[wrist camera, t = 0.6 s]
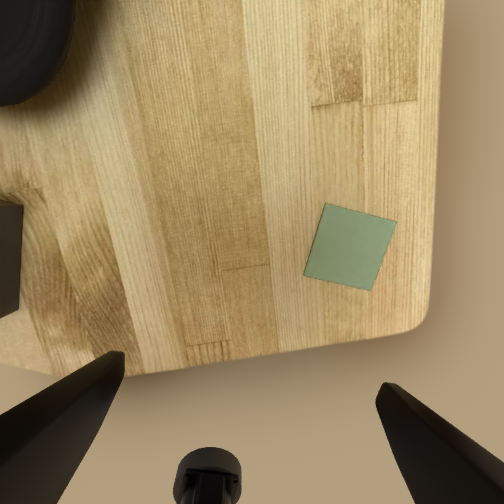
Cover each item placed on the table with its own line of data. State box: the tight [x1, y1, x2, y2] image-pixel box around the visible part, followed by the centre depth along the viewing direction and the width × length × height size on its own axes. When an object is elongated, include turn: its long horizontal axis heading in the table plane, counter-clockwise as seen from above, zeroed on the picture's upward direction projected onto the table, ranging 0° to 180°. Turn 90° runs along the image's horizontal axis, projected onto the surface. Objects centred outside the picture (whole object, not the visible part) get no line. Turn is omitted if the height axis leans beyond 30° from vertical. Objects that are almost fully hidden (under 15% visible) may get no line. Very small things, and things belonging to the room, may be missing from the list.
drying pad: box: [303, 203, 397, 291], centre depth 22 cm, size 7×7×1 cm
